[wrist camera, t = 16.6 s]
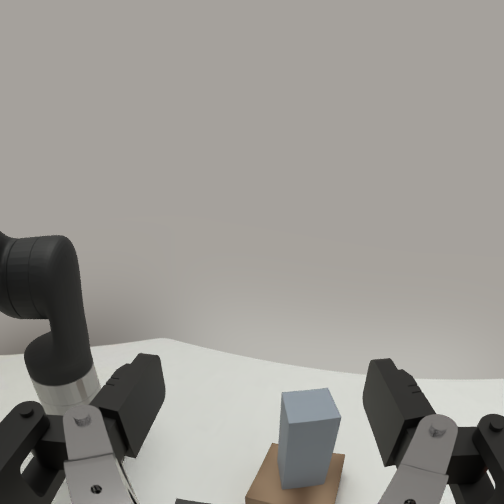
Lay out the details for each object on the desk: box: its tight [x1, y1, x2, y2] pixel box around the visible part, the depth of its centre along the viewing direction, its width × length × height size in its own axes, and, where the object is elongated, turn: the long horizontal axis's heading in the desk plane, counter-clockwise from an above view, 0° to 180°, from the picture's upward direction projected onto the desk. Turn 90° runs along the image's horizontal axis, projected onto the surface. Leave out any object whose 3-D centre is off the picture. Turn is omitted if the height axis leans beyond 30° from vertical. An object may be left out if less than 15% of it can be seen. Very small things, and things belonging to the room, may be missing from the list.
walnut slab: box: [245, 443, 345, 504], centre depth 29 cm, size 10×10×5 cm
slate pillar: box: [277, 388, 341, 489], centre depth 28 cm, size 5×5×12 cm
